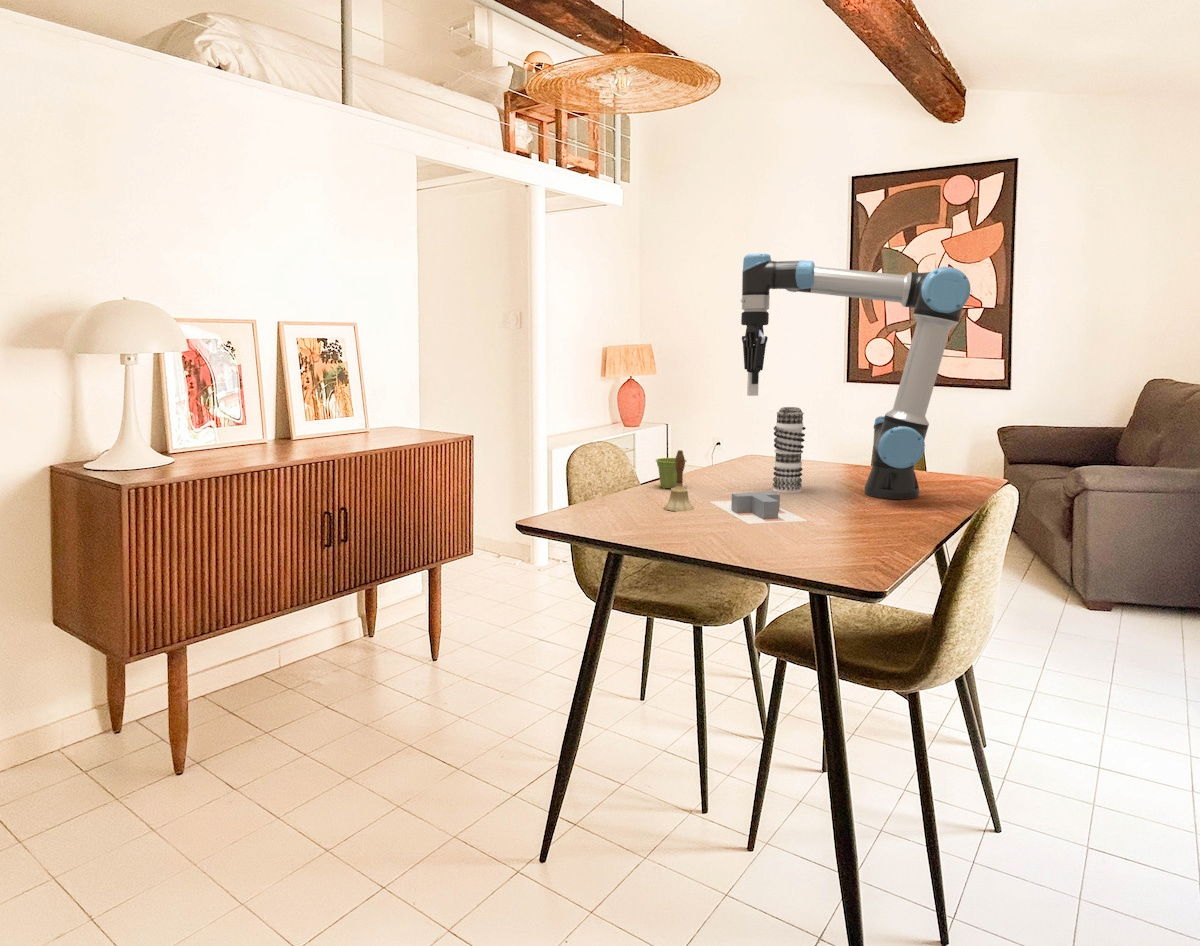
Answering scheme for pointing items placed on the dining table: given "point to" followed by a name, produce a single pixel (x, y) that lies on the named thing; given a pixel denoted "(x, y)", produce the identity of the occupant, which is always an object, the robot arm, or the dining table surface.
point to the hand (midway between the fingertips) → (752, 395)
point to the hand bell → (679, 489)
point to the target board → (754, 519)
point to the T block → (757, 504)
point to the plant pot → (667, 472)
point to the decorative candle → (788, 450)
